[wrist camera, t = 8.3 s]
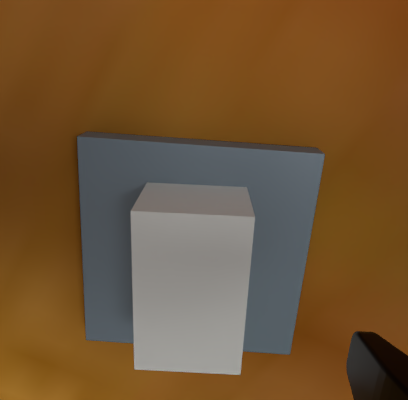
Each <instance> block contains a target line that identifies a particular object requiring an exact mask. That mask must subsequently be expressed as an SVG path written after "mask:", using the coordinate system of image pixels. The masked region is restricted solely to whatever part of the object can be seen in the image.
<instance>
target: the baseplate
mask: <svg viewBox="0 0 408 400" xmlns="http://www.w3.org/2000/svg"><path fill="white" fill-rule="evenodd" d="M77 147H78V170H79V192H80V215H81V237H82V260H83V282H84V305H85V328H86V340H93V341H107V342H121V343H134V334H133V292H132V251H131V209H132V208H133V206H134V204H135V202H136V201H137V199H138V197H139V196H140V194H141V192H142V190H143V189H144V187H145V185H146V183H147V182H149V183H170V184H191V185H212V186H233V187H247V189H248V193H249V197H250V200H251V204H252V207H253V211H254V215H255V224H254V234H253V245H252V256H251V267H250V277H249V288H248V299H247V310H246V320H245V331H244V342H243V351H247V352H261V353H275V354H289V355H290V351H291V345H292V339H293V334H294V328H295V322H296V316H297V311H298V305H299V299H300V294H301V288H302V282H303V277H304V271H305V265H306V260H307V254H308V248H309V242H310V237H311V231H312V225H313V220H314V214H315V208H316V203H317V197H318V191H319V185H320V180H321V174H322V168H323V163H324V157H325V154H324V153H323V152H322V151H320V150H319V149H318V148H312V147H298V146H284V145H270V144H256V143H242V142H228V141H214V140H200V139H186V138H171V137H157V136H143V135H129V134H115V133H101V132H85V133H83V134H81V135H79V136H77Z"/></svg>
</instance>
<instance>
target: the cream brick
mask: <svg viewBox="0 0 408 400" xmlns="http://www.w3.org/2000/svg"><path fill="white" fill-rule="evenodd" d="M254 224H255V215H254V211H253V207H252V204H251V200H250V197H249V193H248V189H247V187H233V186H212V185H191V184H170V183H149V182H147V183H146V185H145V187H144V189H143V190H142V192H141V194H140V196H139V197H138V199H137V201H136V202H135V204H134V206H133V208H132V209H131V251H132V292H133V334H134V369H136V370H155V371H175V372H194V373H213V374H232V375H240V374H241V363H242V353H243V342H244V331H245V320H246V310H247V299H248V288H249V277H250V267H251V256H252V245H253V234H254Z"/></svg>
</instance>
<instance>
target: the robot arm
mask: <svg viewBox="0 0 408 400" xmlns="http://www.w3.org/2000/svg"><path fill="white" fill-rule="evenodd" d="M347 375H348V379H349V382H350V386H351V390H352V394H353V398H354V400H408V356H407V355H406V354H404V353H403V352H402V351H400V350H399V349H397V348H396V347H395V346H393V345H392V344H390V343H389V342H388V341H386V340H385V339H383V338H382V337H380V336H379V335H378V334H376V333H374V332H360V331H357V332H355V333H354V334H353V336H352V339H351V344H350V349H349V354H348V359H347Z"/></svg>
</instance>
